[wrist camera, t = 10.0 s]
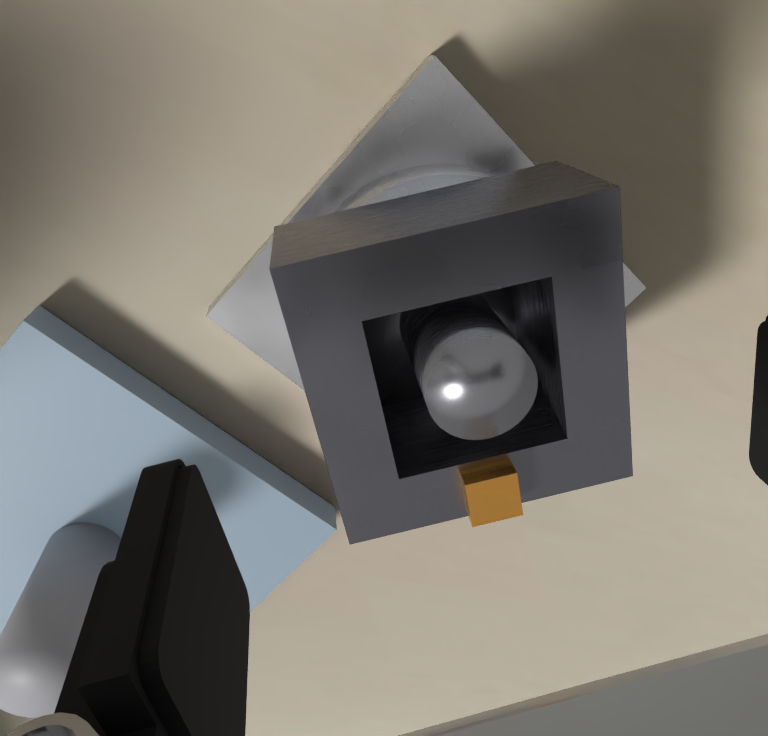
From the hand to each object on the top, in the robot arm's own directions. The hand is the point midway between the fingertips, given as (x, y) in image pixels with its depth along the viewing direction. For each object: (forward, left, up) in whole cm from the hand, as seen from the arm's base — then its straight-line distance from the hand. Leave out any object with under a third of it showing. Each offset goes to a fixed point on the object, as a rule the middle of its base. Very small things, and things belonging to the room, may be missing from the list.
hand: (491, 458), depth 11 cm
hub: (+1, 0, -10) cm, 10 cm away
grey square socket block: (+1, 0, -7) cm, 7 cm away
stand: (-2, -13, -10) cm, 16 cm away
